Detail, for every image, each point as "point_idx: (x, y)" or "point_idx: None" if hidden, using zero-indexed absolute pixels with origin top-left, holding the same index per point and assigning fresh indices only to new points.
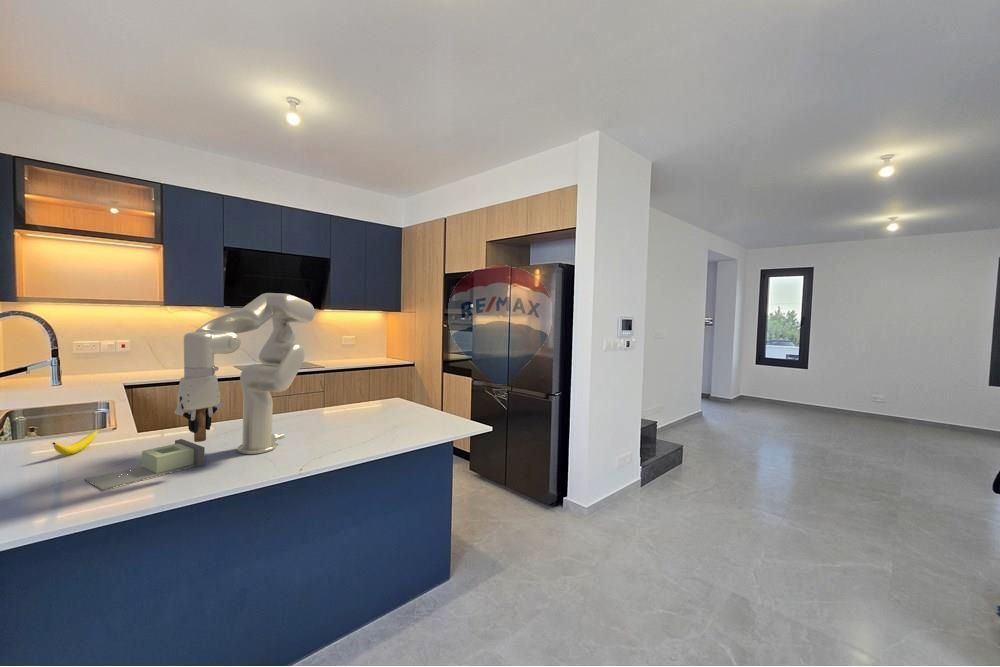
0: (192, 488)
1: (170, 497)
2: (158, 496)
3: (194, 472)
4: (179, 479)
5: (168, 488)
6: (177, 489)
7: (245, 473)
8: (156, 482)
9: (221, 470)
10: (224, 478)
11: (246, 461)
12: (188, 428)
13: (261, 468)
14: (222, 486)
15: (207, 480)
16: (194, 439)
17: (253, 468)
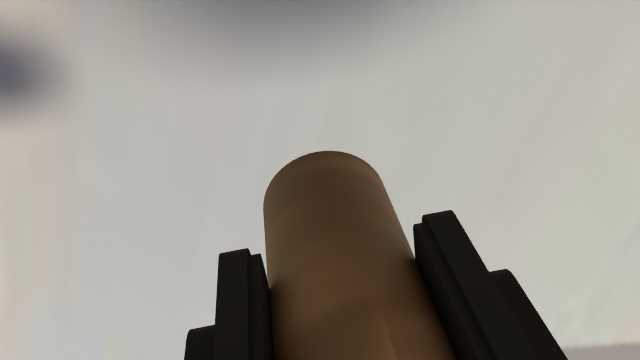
0: (189, 287)
1: (76, 337)
2: (19, 295)
3: (264, 14)
4: (150, 96)
5: (74, 214)
6: (118, 257)
7: (476, 240)
8: (4, 53)
9: (411, 101)
10: None
11: (611, 24)
12: (187, 337)
13: (575, 218)
14: None
15: None
16: (264, 224)
17: (550, 191)
